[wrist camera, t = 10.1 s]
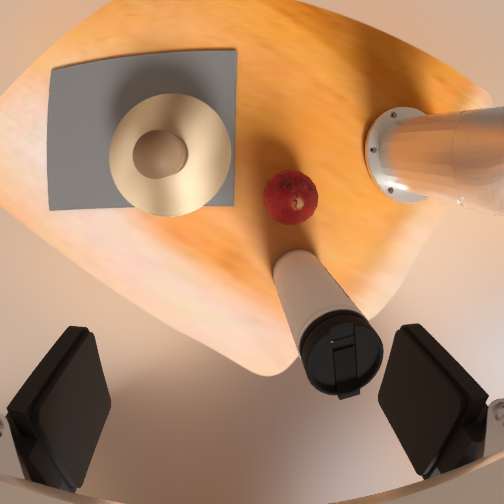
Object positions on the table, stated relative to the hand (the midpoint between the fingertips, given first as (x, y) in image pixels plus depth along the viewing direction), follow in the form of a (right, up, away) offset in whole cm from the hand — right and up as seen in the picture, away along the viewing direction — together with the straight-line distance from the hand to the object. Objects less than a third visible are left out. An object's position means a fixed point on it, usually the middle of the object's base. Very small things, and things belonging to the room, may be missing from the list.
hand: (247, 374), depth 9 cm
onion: (+4, +11, +29) cm, 31 cm away
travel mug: (+6, +1, +32) cm, 33 cm away
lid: (-8, +13, +21) cm, 26 cm away
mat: (-14, +18, +25) cm, 34 cm away
